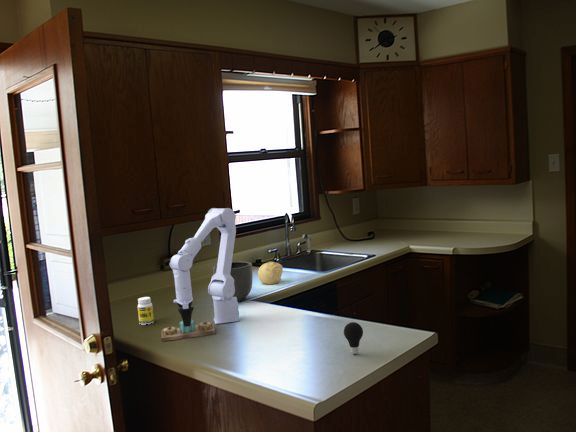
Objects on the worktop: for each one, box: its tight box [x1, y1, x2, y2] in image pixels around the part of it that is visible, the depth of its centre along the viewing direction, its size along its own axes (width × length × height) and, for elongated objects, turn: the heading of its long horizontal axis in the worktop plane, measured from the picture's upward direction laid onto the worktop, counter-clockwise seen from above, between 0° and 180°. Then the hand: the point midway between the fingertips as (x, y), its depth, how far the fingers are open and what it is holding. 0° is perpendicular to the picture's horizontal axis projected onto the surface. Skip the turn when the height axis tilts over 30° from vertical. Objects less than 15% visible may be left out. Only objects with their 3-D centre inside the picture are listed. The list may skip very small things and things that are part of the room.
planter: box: [212, 260, 253, 303], centre depth 244 cm, size 17×17×16 cm
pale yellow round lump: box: [257, 261, 284, 285], centre depth 273 cm, size 12×12×11 cm
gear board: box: [160, 321, 216, 342], centre depth 202 cm, size 19×10×5 cm, turn 103°
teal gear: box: [178, 319, 196, 333], centre depth 202 cm, size 5×5×3 cm
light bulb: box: [343, 321, 364, 355], centre depth 167 cm, size 6×6×10 cm
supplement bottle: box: [137, 296, 155, 326], centre depth 220 cm, size 6×6×10 cm
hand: (187, 323), depth 202 cm, fingers open, 7 cm apart
